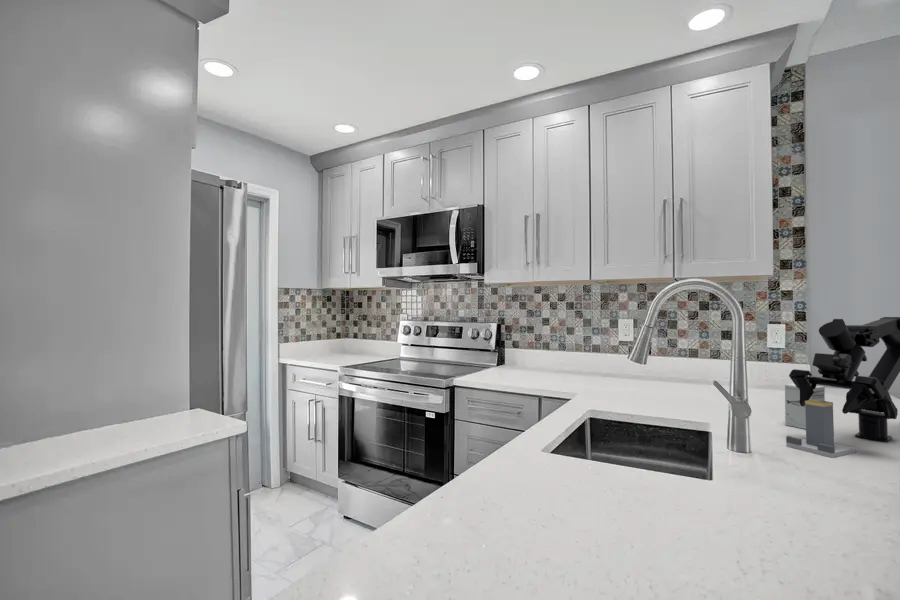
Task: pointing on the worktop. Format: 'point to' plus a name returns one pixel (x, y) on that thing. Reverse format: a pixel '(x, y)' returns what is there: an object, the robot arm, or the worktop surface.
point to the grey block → (819, 422)
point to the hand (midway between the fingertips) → (821, 408)
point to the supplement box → (798, 405)
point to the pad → (819, 447)
